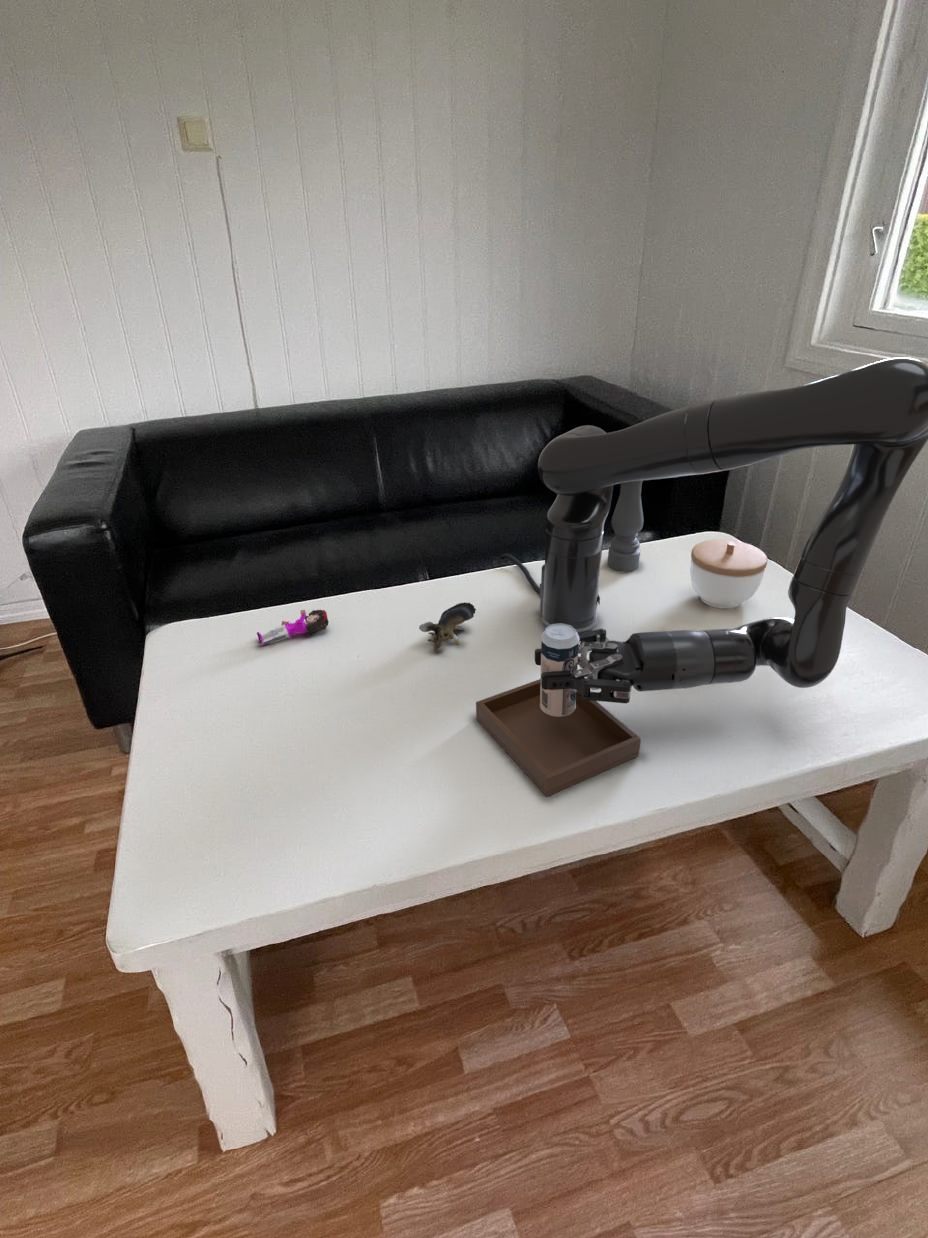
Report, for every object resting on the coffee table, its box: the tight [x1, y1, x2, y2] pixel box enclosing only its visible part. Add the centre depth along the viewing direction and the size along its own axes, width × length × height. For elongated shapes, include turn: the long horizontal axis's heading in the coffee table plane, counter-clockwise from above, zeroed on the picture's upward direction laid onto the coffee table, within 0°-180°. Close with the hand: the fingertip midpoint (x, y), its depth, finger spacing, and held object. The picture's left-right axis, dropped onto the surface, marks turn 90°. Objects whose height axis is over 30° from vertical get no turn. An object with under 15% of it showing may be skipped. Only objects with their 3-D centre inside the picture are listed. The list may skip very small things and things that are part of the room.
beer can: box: [540, 623, 580, 717], centre depth 90 cm, size 5×5×12 cm
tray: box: [475, 678, 642, 797], centre depth 94 cm, size 18×15×3 cm
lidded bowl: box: [689, 539, 768, 610], centre depth 124 cm, size 13×13×11 cm
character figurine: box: [256, 609, 330, 647], centre depth 118 cm, size 6×5×12 cm
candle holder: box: [606, 480, 645, 573], centre depth 133 cm, size 6×6×25 cm
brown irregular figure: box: [418, 601, 477, 653], centre depth 115 cm, size 8×7×9 cm
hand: (538, 669), depth 89 cm, fingers closed on beer can, 4 cm apart
